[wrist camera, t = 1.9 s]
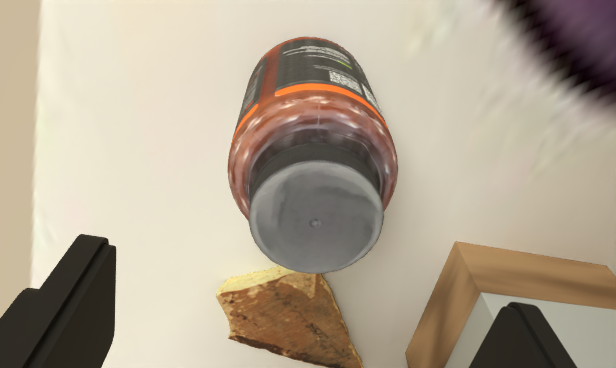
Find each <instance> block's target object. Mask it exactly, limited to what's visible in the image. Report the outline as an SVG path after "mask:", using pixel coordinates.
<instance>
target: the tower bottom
mask: <svg viewBox="0 0 616 368" xmlns="http://www.w3.org/2000/svg"><path fill="white" fill-rule="evenodd" d="M481 292H482V293H490V294H498V295H505V296H513V297H521V298H528V299H536V300H544V301H551V302H559V303H567V304H574V305H582V306H590V307H597V308H605V309H613V310H616V276H615V275H614V274H613V273H612V272H611V270H610V269H609V268H608V267H607V266H604V265H598V264H592V263H586V262H579V261H573V260H567V259H561V258H555V257H549V256H543V255H536V254H530V253H524V252H518V251H512V250H506V249H499V248H493V247H487V246H481V245H475V244H469V243H462V242H456V241H455V243H454V245H453V248H452V250H451V252H450V254H449V257H448V259H447V261H446V263H445V265H444V268H443V270H442V272H441V274H440V277H439V279H438V281H437V283H436V286H435V288H434V290H433V292H432V295H431V297H430V299H429V301H428V304H427V306H426V308H425V310H424V312H423V315H422V317H421V319H420V321H419V324H418V326H417V328H416V330H415V333H414V335H413V337H412V339H411V342H410V344H409V346H408V348H407V350H406V353H405V354H406V358H407V362H408V367H409V368H445V366H446V364H447V362H448V359H449V357H450V355H451V353H452V351H453V349H454V347H455V345H456V343H457V341H458V339H459V337H460V335H461V333H462V331H463V328H464V326H465V324H466V322H467V320H468V318H469V316H470V314H471V312H472V310H473V308H474V306H475V304H476V302H477V299H478V297H479V295H480V293H481Z"/></svg>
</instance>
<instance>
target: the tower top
mask: <svg viewBox="0 0 616 368" xmlns="http://www.w3.org/2000/svg"><path fill="white" fill-rule="evenodd" d="M510 302H520V303H526V304H532V305H535V306H537V307H538V308H539V309H540V310H541V312H542V313H543V315H544V317H545V318H546V320H547V321H548V323H549V324H550V326H551V327H552V329H553V331H554V332H555V334H556V335H557V337H558V338H559V340H560V341H561V343H562V345H563V346H564V348H565V349H566V351H567V352H568V354H569V355H570V357H571V359H572V360H573V362H574V363H575V365H576V366H577V368H616V310H613V309H605V308H597V307H590V306H582V305H574V304H567V303H559V302H551V301H544V300H536V299H528V298H521V297H513V296H505V295H498V294H490V293H482V292H481V293H480V295H479V297H478V299H477V302H476V304H475V306H474V308H473V310H472V312H471V314H470V316H469V318H468V320H467V322H466V324H465V326H464V328H463V331H462V333H461V335H460V337H459V339H458V341H457V343H456V345H455V347H454V349H453V351H452V353H451V355H450V357H449V359H448V362H447V364H446V366H445V368H469V366H470V364H471V362H472V360H473V359H474V357H475V355H476V353H477V351H478V349H479V347H480V346H481V344H482V342H483V340H484V338H485V336H486V335H487V333H488V331H489V329H490V327H491V325H492V323H493V322H494V320H495V318H496V316H497V314H498V312H499V311H500V309H501V308H502V307H503V306H507V305H508V304H509V303H510Z"/></svg>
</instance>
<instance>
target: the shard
mask: <svg viewBox="0 0 616 368" xmlns="http://www.w3.org/2000/svg"><path fill="white" fill-rule="evenodd" d="M216 298H217V300H218V302H219V304H220V305H221V306H222V308H223V310H224V312H225V314H226V315H227V318H228V321H229V325H230V329H231V331H230V334H229V337H228V339H232V340H235V341H238V342H239V343H243V344H247V345H249V346H251V347H255V348H259V349H266V350H268V351H270V352H272V353H275V354H278V355H282V356H285V357H288V358H291V359H294V360H299V361H303V362H307V363H311V364H314V365H319V366H324V367H328V368H363V365H362V362H361V359H360V358H359V356H358V354H357V352H356V350H355V348H354V347H353V345H352V344H351V342H350V340H349V336H348V331H347V329H346V326H345V324H344V322H343V320H342V317H341V314H340V311H339V309H338V307H337V306H336V304H335V300H334V298H333V295H332V292H331V289H330V288H329V286H328V284H327V283H326V281H325V280H324V279H323V278H322V275H321V273H319V274H310V273H302V272H296V271H293V270H289V269H287V268H284V267H282V266H277V267H275V268H271V269H269V270H264V271H259V272H253V273H248V274H245V275H241V276H236V277H231V278H230V279H229V280H227V281H226V282H225V283H224V284H223V285H222V286H220V287H219V288H218V290H217V293H216Z"/></svg>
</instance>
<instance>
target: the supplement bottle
mask: <svg viewBox="0 0 616 368" xmlns="http://www.w3.org/2000/svg"><path fill="white" fill-rule="evenodd" d="M397 174H398V165H397V155H396V150H395V147H394V143H393V140H392V137H391V135H390V132H389V130H388V128H387V125H386V123H385V120H384V118H383V116H382V114H381V111H380V109H379V107H378V104H377V102H376V99H375V97H374V95H373V93H372V90H371V88H370V86H369V83H368V81H367V79H366V76H365V74H364V72H363V70H362V68H361V67H360V65H359V64H358V63H357V61H356V60H355V59H354V57H353V56H352V55H351V54H350V53H349V52H348V51H346V50H345V49H344V48H343V47H341V46H339V45H338V44H336V43H333V42H331V41H329V40H326V39H321V38H316V37H299V38H295V39H291V40H288V41H285V42H283V43H281V44H279V45H277V46H275V47H274V48H273V49H271V50H270V51H269V52H267V53H266V54H265V55H264V56H263V57H262V58H261V60H260V61H259V63H258V64H257V66H256V67H255V69H254V71H253V73H252V75H251V78H250V80H249V83H248V87H247V90H246V93H245V97H244V100H243V104H242V108H241V111H240V115H239V118H238V122H237V126H236V129H235V133H234V136H233V140H232V143H231V148H230V153H229V159H228V179H229V184H230V188H231V191H232V194H233V197H234V199H235V201H236V203H237V205H238V207H239V209H240V211H241V212H242V213H243V215H244V216H245V217H246V219H247V220H248V221H249V226H250V230H251V234H252V236H253V239H254V241H255V243H256V244H257V246H258V247H259V248H260V250H261V251H262V252H263V253H264V254H265V255H266V256H267V257H268V258H269V259H270V260H271V261H273V262H275V263H276V264H278V265H280V266H282V267H284V268H287V269H289V270H293V271H296V272H302V273H310V274H319V273H328V272H333V271H337V270H341V269H343V268H345V267H347V266H350V265H352V264H353V263H355V262H356V261H358V260H359V259H361V258H363V257H364V256H365V255H366V254H367V253H368V252H369V251H370V250H371V248H372V247H373V246H374V244H375V243H376V242H377V240H378V238H379V235H380V233H381V229H382V225H383V217H384V210H385V209H386V207H387V206H388V204H389V201H390V199H391V197H392V195H393V192H394V189H395V185H396V182H397Z"/></svg>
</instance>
